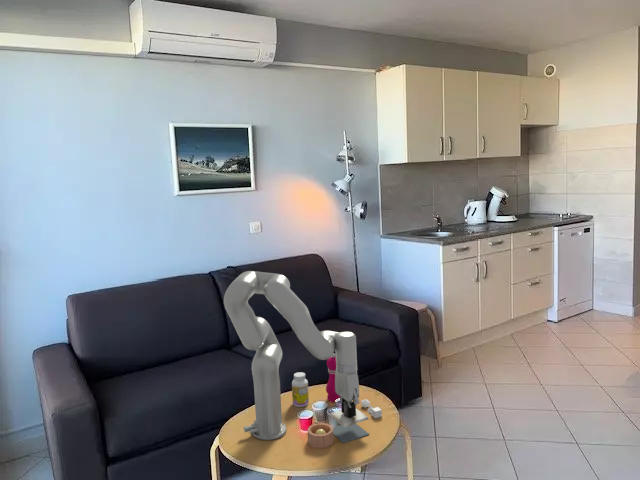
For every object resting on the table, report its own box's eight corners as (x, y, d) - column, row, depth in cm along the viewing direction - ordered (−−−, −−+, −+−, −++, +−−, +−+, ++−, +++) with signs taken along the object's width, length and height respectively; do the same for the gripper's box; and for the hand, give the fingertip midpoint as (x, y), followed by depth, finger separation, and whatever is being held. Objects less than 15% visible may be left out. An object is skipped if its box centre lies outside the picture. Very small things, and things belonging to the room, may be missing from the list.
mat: (343, 443, 187) (343, 442, 187) (327, 430, 196) (327, 429, 196) (369, 434, 192) (369, 433, 192) (353, 422, 202) (353, 421, 202)
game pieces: (382, 417, 205) (382, 409, 205) (374, 419, 204) (374, 411, 203) (367, 404, 216) (367, 397, 216) (359, 406, 215) (359, 398, 214)
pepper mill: (339, 394, 226) (338, 349, 223) (346, 401, 219) (345, 355, 216) (323, 397, 223) (322, 352, 220) (330, 404, 217) (328, 357, 214)
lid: (344, 427, 187) (343, 411, 186) (330, 416, 195) (329, 400, 195) (368, 419, 191) (367, 403, 190) (353, 408, 200) (352, 393, 199)
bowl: (315, 450, 183) (315, 438, 182) (303, 439, 191) (303, 427, 190) (338, 443, 187) (337, 431, 186) (325, 432, 195) (325, 420, 194)
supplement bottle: (290, 401, 220) (289, 372, 218) (306, 399, 222) (305, 370, 220) (295, 408, 214) (293, 378, 212) (310, 406, 216) (309, 376, 214)
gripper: (326, 361, 196) (328, 408, 199) (350, 376, 181) (352, 426, 184) (343, 357, 199) (345, 403, 202) (368, 371, 185) (370, 420, 188)
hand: (348, 413), depth 193 cm, fingers closed on lid, 3 cm apart
